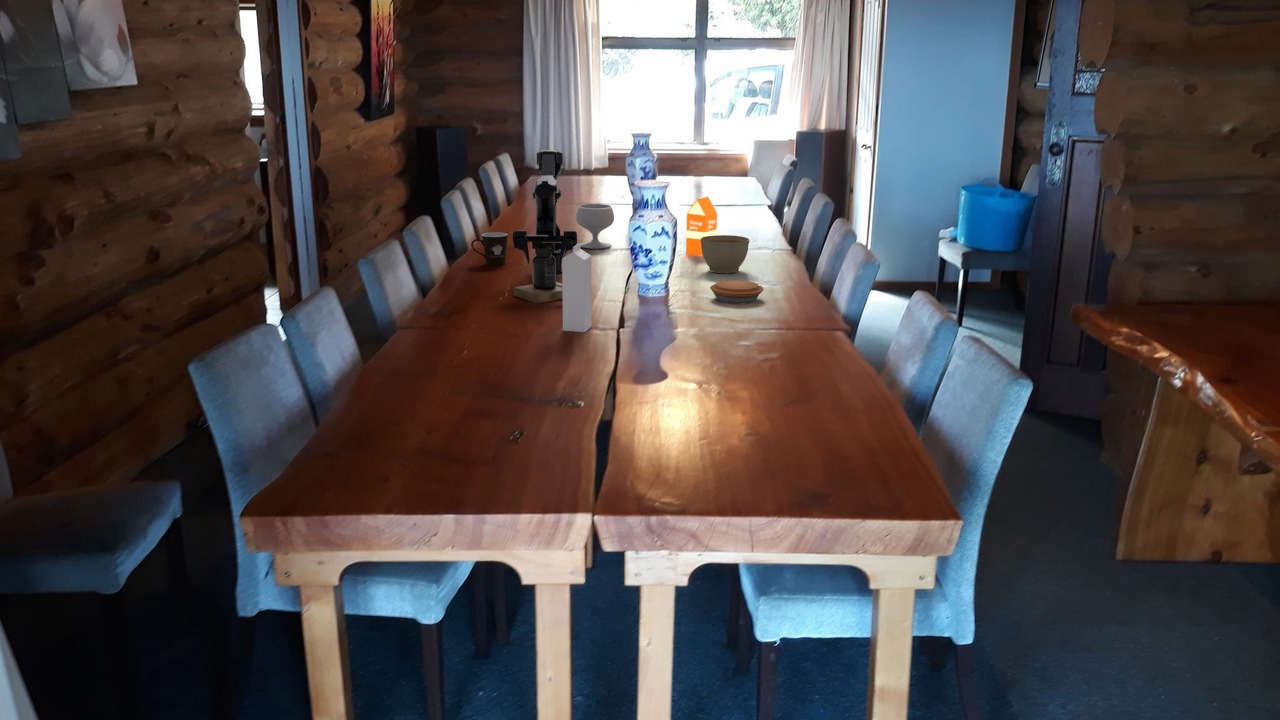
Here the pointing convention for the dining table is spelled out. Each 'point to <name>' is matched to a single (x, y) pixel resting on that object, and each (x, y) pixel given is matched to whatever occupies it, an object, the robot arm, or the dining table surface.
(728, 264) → the planter bowl
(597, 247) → the chalice
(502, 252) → the coffee mug
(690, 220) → the orange juice
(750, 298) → the pie
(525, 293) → the beige flat block
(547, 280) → the supplement bottle
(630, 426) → the dining table surface
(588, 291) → the milk
